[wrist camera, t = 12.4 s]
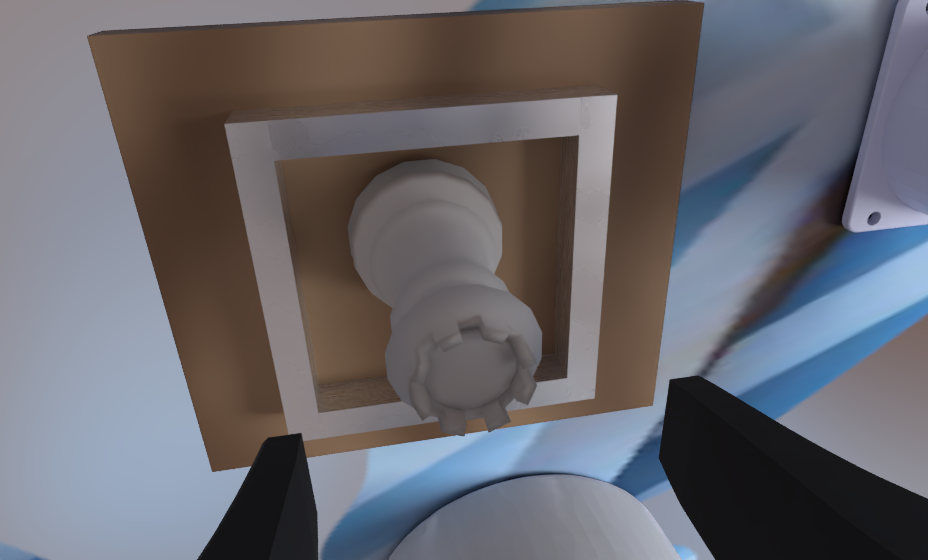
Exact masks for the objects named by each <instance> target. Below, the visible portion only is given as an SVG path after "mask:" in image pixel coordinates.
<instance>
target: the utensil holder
mask: <svg viewBox="0 0 928 560" xmlns="http://www.w3.org/2000/svg"><path fill="white" fill-rule="evenodd" d="M388 560H682V559H681V558H680V556H679V555H678V553H677V552H676V550H675V549H674V547H673V546H672V544H671V543H670V541H669V540H668V538H667V537H666V535H665V534H664V532H663V531H662V529H661V528H660V526H659V525H658V523H657V522H656V521H655V519H654V518H653V516H652V515H651V513H650V512H649V511H648V510H647V509H646V508H645V507H644V506H643V505H642V504H641V503H640V502H639V501H638V500H637V499H636V498H635V497H633V496H632V495H630V494H629V493H628V492H626V491H624V490H622V489H620V488H618V487H616V486H614V485H612V484H609V483H606V482H603V481H600V480H596V479H592V478H587V477H583V476H576V475H536V476H528V477H522V478H517V479H513V480H508V481H504V482H500V483H497V484H494V485H491V486H488V487H485V488H482V489H479V490H477V491H475V492H472V493H470V494H467V495H465V496H463V497H461V498H459V499H457V500H455V501H453V502H451V503H449V504H448V505H446V506H444V507H443V508H441V509H439V510H438V511H436V512H435V513H434V514H432V515H431V516H430V517H429V518H427V519H426V520H424V521H423V522H422V523H420V524H419V525H418V526H417V527H416V528H415V529H414V530H412V531H411V532H410V533H409V534H408V535H407V536H406V537H405V538H404V539H403V540H402V542H401V543H400V544H399V545H398V546H397V547H396V549H395V550H394V551H393V553H392V554H391V556H390V557H389V559H388Z"/></svg>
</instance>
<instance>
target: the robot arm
mask: <svg viewBox="0 0 928 560" xmlns="http://www.w3.org/2000/svg"><path fill="white" fill-rule="evenodd" d="M927 4H928V0H899V1H898V4H897V6H896V10H895V13H894V17H893V21H892V25H891V29H890V33H889V37H888V41H887V45H886V49H885V53H884V56H883V60H882V64H881V68H880V72H879V76H878V80H877V84H876V88H875V92H874V96H873V99H872V103H871V107H870V111H869V115H868V119H867V123H866V127H865V131H864V135H863V139H862V143H861V146H860V150H859V154H858V158H857V162H856V166H855V170H854V174H853V178H852V182H851V186H850V189H849V193H848V197H847V201H846V205H845V209H844V213H843V217H842V224H843V226H844V227H845V228H846V229H848V230H850V231H852V232H865V231H873V230H882V229H891V228H900V227H908V226H917V225H926V224H928V11H926V6H927ZM872 213H873V214H872ZM871 214H872V216H871V218H870V219H868V217H869V216H870V215H871ZM867 219H868V220H867ZM659 460H660V462H661V464H662V466H663V468H664V471H665V473H666V475H667V477H668V480H669V482H670V484H671V486H672V488H673V490H674V492H675V494H676V496H677V498H678V500H679V502H680V504H681V506H682V507H683V509H684V511H685V512H686V514H687V516H688V517H689V519H690V520H691V522H692V524H693V525H694V527H695V528H696V530H697V532H698V533H699V535H700V536H701V538H702V540H703V541H704V542H705V544H706V546H707V547H708V549H709V550H710V552H711V553H712V555H713V557H714V558H715V560H928V499H927V498H925V497H923V496H920V495H918V494H916V493H913V492H911V491H909V490H907V489H905V488H902V487H900V486H898V485H896V484H894V483H891V482H889V481H887V480H884V479H883V478H880V477H878V476H876V475H874V474H872V473H870V472H868V471H866V470H864V469H862V468H860V467H858V466H856V465H854V464H852V463H850V462H848V461H846V460H845V459H843V458H841V457H839V456H837V455H835V454H833V453H831V452H829V451H827V450H826V449H824V448H822V447H820V446H818V445H816V444H815V443H813V442H811V441H809V440H807V439H806V438H804V437H802V436H800V435H799V434H797V433H795V432H794V431H792V430H790V429H788V428H787V427H785V426H783V425H782V424H780V423H778V422H776V421H775V420H773V419H771V418H770V417H768V416H766V415H765V414H763V413H761V412H760V411H758V410H756V409H755V408H753V407H751V406H750V405H748V404H747V403H745V402H743V401H742V400H740V399H738V398H737V397H735V396H733V395H732V394H730V393H728V392H727V391H725V390H723V389H722V388H720V387H718V386H716V385H715V384H713V383H711V382H709V381H708V380H706V379H704V378H702V377H700V376H691V377H684V378H677V379H671V380H670V381H669V388H668V396H667V403H666V410H665V417H664V424H663V431H662V438H661V446H660V453H659ZM317 526H318V525H317V510H316V504H315V499H314V494H313V489H312V484H311V479H310V475H309V468H308V463H307V458H306V453H305V448H304V443H303V438H302V433H296V434H289V435H282V436H275V437H268V438H267V439H266V440H265V441H264V442H263V443H262V445H261V447H260V450H259V452H258V454H257V456H256V458H255V460H254V462H253V464H252V466H251V468H250V471H249V472H248V474H247V476H246V478H245V480H244V482H243V484H242V486H241V488H240V489H239V491H238V493H237V495H236V497H235V499H234V500H233V502H232V504H231V505H230V507H229V509H228V511H227V512H226V514H225V516H224V518H223V519H222V521H221V523H220V524H219V526H218V528H217V530H216V531H215V533H214V535H213V536H212V538H211V539H210V541H209V542H208V544H207V545H206V547H205V548H204V550H203V552H202V553H201V555H200V556H199V558H198V559H197V560H318V527H317Z"/></svg>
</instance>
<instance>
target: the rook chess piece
mask: <svg viewBox="0 0 928 560" xmlns="http://www.w3.org/2000/svg"><path fill="white" fill-rule="evenodd" d="M347 228H348V235H349V243H350V251H351V255H352V257H353V261H354V267H355V269H356V270H357V272H358V274H359V275H360V277H361V278H362V280H363V282H364V283H365V285H366V286H367V288H368V290H369V291H370V292H371V293H372V294H373V295H374V296H376V297H377V298H379V299H380V300H382V301H383V302H385V303H386V304H387V305H389V306H390V307H392V308H393V309H392V312H391V315H390V320H391V329H392V334H391V337H390V340H389V343H388V345H387V348H386V351H385V360H386V369H387V378H388V381H389V382H390V384H391V385H392V387H393V388H394V390H395V391H396V393H397V394H398V396H399V397H400V399H401V400H402V402H404V403H406V404H407V405H409V406H411V407H412V408H414V409H415V411H416V412H417V414H418V415H419V417H420V418H421V420H422V421H423V420H425V419H426V418H427V417H429V416H431V417H437V418H438V420H439V425H440V429H441V432H442V433H448V434H454V435H459V436H465V431H466V426H467V424H466V421H467V420H474V419H481V418H484V420H485V423H486V426H487V429H488V432H491V431H493V430H495V429H497V428H499V427H501V426H503V425H505V424H507V423H509V422H511V421H510V419H509V416H508V413H507V411H506V408H505V407H506V406H507V405H508V404H509V403H510V402H512V401H513V400H514V399H516V401H518V402H521V403H523V404H526V405H528V404H529V402H530V400H531V398H532V396H533V394H534V391H535V389H536V387H537V384H536V381H535V379H534V377H533V375H534V373H535V371H536V369H537V367H538V365H539V363H540V361H541V358H542V331H541V329H540V327H539V325H538V323H537V321H536V319H535V317H534V314H533V312H532V310H531V309H530V308H529V307H528V306H527V305H525V304H524V303H523V302H521V301H520V300H519V299H518V298H516V297H515V296H514V295H512V294H511V293H510V292H509V291H508V289H507V287H506V285H505V283H504V281H502V280H501V279H500V278H499V277H497V276H496V275H495V274H494V273H495V271H496V268H497V266H498V264H499V261H500V259H501V256H502V222H501V220H500V218H499V216H498V214H497V210H496V208H495V206H494V204H493V201H492V199H491V197H490V195H489V193H488V191H487V189H486V187H485V186H484V185H483V184H482V183H481V182H480V181H478V180H477V179H476V178H475V177H474V176H473V175H472V174H470V173H469V172H468V171H467V170H466V169H465V168H462V167H459V166H456V165H453V164H450V163H446V162H443V161H440V160H437V159H429V160H417V161H406V162H402V163H400V164H398V165H396V166H394V167H392V168H391V169H389V170H387V171H385V172H383V173H381V174H379V175H377V176H375V178H374V179H373V180H372V181H371V182H370V183H369V185H368V186H367V187H366V188H365V189H364V190H363V192H362V193H361V194H360V195H359V196H358V197H357V199H356V201H355V204H354V207H353V210H352V214H351V217H350V220H349V224H348V227H347Z"/></svg>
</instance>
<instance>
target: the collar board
mask: <svg viewBox="0 0 928 560" xmlns="http://www.w3.org/2000/svg"><path fill="white" fill-rule="evenodd" d="M703 9H704V3H702V2H694V1H686V0H676V1H657V2H639V3H620V4H601V5H582V6H563V7H544V8H525V9H506V10H487V11H468V12H450V13H431V14H412V15H393V16H375V17H355V18H337V19H317V20H300V21H279V22H261V23H242V24H223V25H204V26H185V27H166V28H149V29H128V30H111V31H101V32H98V33H95V34H92V35H89V36H87V38H88V41H89V45H90V48H91V52H92V55H93V59H94V62H95V65H96V69H97V72H98V76H99V79H100V83H101V86H102V90H103V93H104V96H105V100H106V104H107V107H108V111H109V114H110V118H111V121H112V125H113V128H114V132H115V135H116V139H117V142H118V145H119V149H120V152H121V156H122V159H123V163H124V166H125V170H126V173H127V177H128V180H129V184H130V187H131V190H132V194H133V197H134V201H135V204H136V208H137V212H138V215H139V218H140V222H141V225H142V229H143V232H144V236H145V239H146V243H147V246H148V250H149V253H150V256H151V260H152V264H153V267H154V271H155V274H156V278H157V281H158V284H159V288H160V291H161V295H162V298H163V302H164V305H165V309H166V312H167V316H168V319H169V323H170V326H171V330H172V333H173V337H174V340H175V344H176V347H177V351H178V354H179V358H180V361H181V364H182V368H183V372H184V375H185V378H186V382H187V385H188V389H189V392H190V396H191V399H192V403H193V406H194V410H195V413H196V417H197V420H198V424H199V427H200V431H201V434H202V438H203V441H204V445H205V448H206V452H207V455H208V458H209V462H210V465H211V469H212V472H216V471H222V470H229V469H235V468H242V467H248V466H252V464H253V462H254V460H255V458H256V456H257V454H258V452H259V450H260V447H261V445H262V443H263V442H264V441H265V440H266V439H267V438H268V437H275V436H282V435H289V434H296V433H302V438H303V443H304V448H305V453H306V458H308V457H315V456H321V455H328V454H335V453H341V452H348V451H355V450H361V449H368V448H375V447H381V446H388V445H395V444H401V443H408V442H414V441H421V440H428V439H434V438H441V437H448V436H454V434H448V433H442V432H441V429H440V425H439V420H438V418H437V417H431V416H429V417H427V418H426V419H425V420H423V421H422V420H421V418H420V417H419V415H418V414H417V412H416V411H415V409H414V408H412V407H411V406H409V405H407V404H406V403H404V402H402V400H401V399H400V397H399V396H398V394H397V393H396V391H395V390H394V388H393V387H392V385H391V384H390V382H389V381H388V378H387V369H386V360H385V351H386V348H387V345H388V343H389V340H390V337H391V334H392V329H391V320H390V315H391V312H392V309H393V308H392V307H390V306H389V305H387V304H386V303H385V302H383V301H382V300H380V299H379V298H377V297H376V296H374V295H373V294H372V293H371V292H370V291H369V290H368V288H367V286H366V285H365V283H364V282H363V280H362V278H361V277H360V275H359V274H358V272H357V270H356V269H355V267H354V261H353V257H352V255H351V251H350V243H349V235H348V228H347V227H348V224H349V220H350V217H351V214H352V210H353V207H354V204H355V201H356V199H357V197H358V196H359V195H360V194H361V193H362V192H363V190H364V189H365V188H366V187H367V186H368V185H369V183H370V182H371V181H372V180H373V179H374V178H375V176H377V175H379V174H381V173H383V172H385V171H387V170H389V169H391V168H392V167H394V166H396V165H398V164H400V163H402V162H406V161H417V160H429V159H437V160H440V161H443V162H446V163H450V164H453V165H456V166H459V167H462V168H465V169H466V170H467V171H468V172H469V173H470V174H472V175H473V176H474V177H475V178H476V179H477V180H478V181H480V182H481V183H482V184H483V185H484V186H485V187H486V189H487V191H488V193H489V195H490V197H491V199H492V201H493V204H494V206H495V208H496V210H497V214H498V216H499V218H500V220H501V222H502V256H501V259H500V261H499V264H498V266H497V268H496V271H495V273H494V274H495V275H496V276H497V277H499V278H500V279H501V280H502V281H504V283H505V285H506V287H507V289H508V291H509V292H510V293H511V294H512V295H514V296H515V297H516V298H518V299H519V300H520V301H521V302H523V303H524V304H525V305H527V306H528V307H529V308H530V309H531V310H532V312H533V314H534V317H535V319H536V321H537V323H538V325H539V327H540V329H541V331H542V358H541V361H540V363H539V365H538V367H537V369H536V371H535V373H534V375H533V377H534V379H535V381H536V384H537V387H536V389H535V391H534V394H533V396H532V398H531V400H530V402H529V404H528V405H526V404H523V403H521V402H518V401H516V399H514V400H513V401H512V402H510V403H509V404H508V405H507V406H506V407H505V408H506V411H507V413H508V416H509V419H510V421H511V422H509V423H507V424H505V425H503V426H501V427H499V428H497V429H501V428H507V427H514V426H521V425H527V424H534V423H540V422H547V421H554V420H560V419H567V418H574V417H580V416H587V415H593V414H600V413H607V412H613V411H620V410H627V409H633V408H640V407H646V406H653V400H654V392H655V384H656V376H657V369H658V361H659V353H660V345H661V337H662V329H663V322H664V314H665V306H666V298H667V290H668V283H669V275H670V267H671V259H672V251H673V243H674V236H675V228H676V220H677V212H678V204H679V196H680V189H681V181H682V173H683V165H684V157H685V150H686V142H687V134H688V126H689V118H690V110H691V103H692V95H693V87H694V79H695V71H696V63H697V56H698V48H699V40H700V32H701V24H702V17H703ZM466 424H467V426H466V431H465V434H467V433H474V432H481V431H487V430H488V429H487V426H486V423H485V420H484V418H481V419H474V420H467V421H466Z"/></svg>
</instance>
